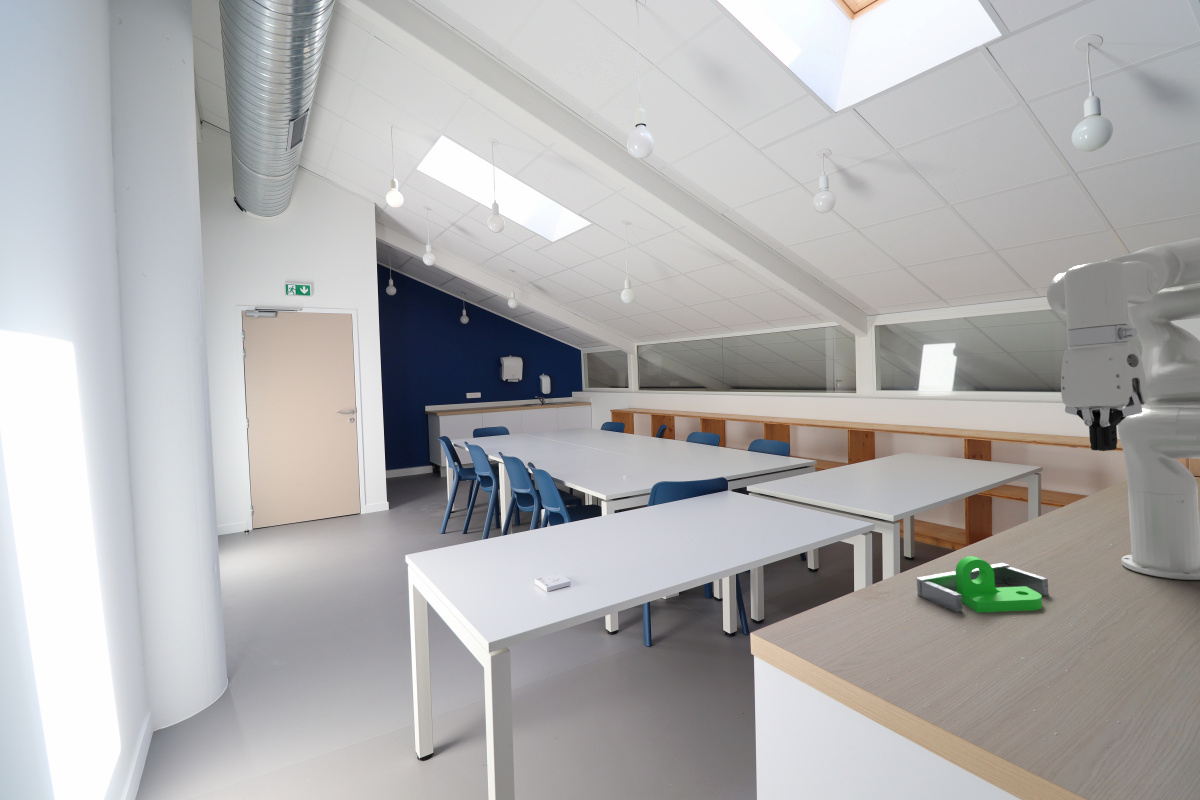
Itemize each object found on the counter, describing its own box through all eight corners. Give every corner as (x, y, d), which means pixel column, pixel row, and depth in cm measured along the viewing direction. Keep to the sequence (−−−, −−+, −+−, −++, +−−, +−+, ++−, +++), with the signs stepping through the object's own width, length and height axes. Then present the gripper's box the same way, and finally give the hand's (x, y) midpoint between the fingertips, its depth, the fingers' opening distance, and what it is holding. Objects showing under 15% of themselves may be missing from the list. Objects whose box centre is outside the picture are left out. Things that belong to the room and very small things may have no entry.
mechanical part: (977, 613, 94) (974, 567, 94) (957, 600, 100) (954, 556, 100) (1051, 610, 93) (1048, 564, 93) (1026, 597, 99) (1023, 553, 99)
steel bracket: (1003, 579, 108) (1002, 562, 108) (1048, 594, 99) (1047, 576, 99) (917, 594, 103) (916, 577, 103) (956, 612, 95) (955, 593, 95)
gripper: (1170, 332, 83) (1177, 452, 84) (1067, 342, 98) (1073, 444, 98) (1133, 334, 82) (1139, 456, 82) (1034, 344, 96) (1040, 448, 97)
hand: (1103, 449), depth 90 cm, fingers closed
